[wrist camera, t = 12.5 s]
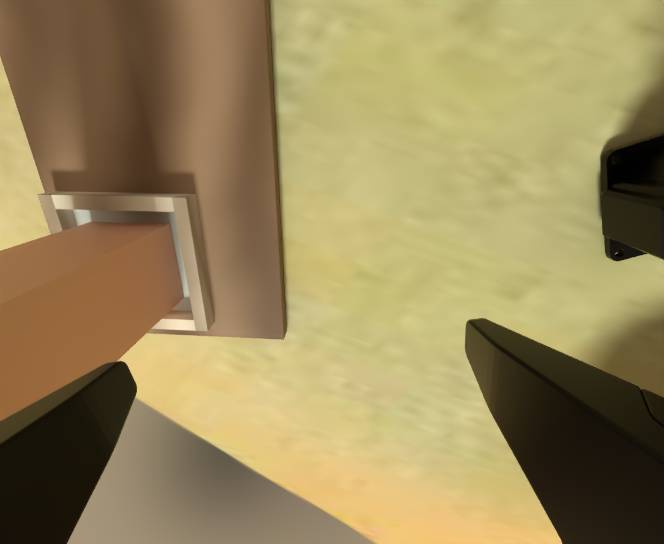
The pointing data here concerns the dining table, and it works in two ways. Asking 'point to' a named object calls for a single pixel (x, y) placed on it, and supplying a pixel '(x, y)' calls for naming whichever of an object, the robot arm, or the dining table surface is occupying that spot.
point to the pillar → (80, 303)
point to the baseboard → (161, 139)
